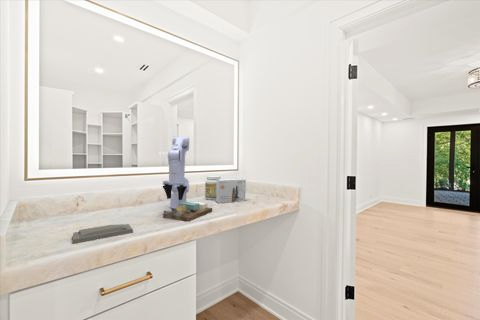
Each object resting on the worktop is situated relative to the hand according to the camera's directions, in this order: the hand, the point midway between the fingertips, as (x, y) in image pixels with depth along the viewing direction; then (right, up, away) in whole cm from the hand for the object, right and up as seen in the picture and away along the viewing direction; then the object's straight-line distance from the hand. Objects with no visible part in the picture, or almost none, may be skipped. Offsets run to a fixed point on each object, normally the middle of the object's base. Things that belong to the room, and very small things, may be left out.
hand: (174, 199), depth 115 cm
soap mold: (-21, -10, -26) cm, 35 cm away
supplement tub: (+14, -9, +51) cm, 54 cm away
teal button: (+6, -6, +5) cm, 10 cm away
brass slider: (+4, -7, -2) cm, 8 cm away
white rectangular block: (+10, -7, +13) cm, 17 cm away
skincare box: (+28, -9, +41) cm, 50 cm away
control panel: (+6, -9, +5) cm, 12 cm away
